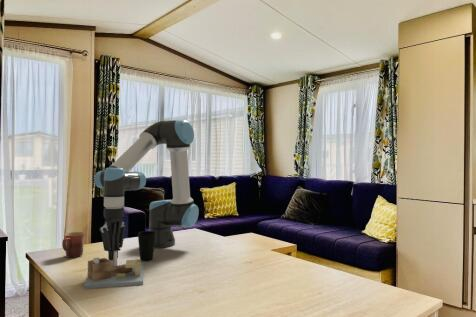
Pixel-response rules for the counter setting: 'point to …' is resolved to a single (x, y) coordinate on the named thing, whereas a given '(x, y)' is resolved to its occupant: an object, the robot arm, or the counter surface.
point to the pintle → (96, 260)
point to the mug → (73, 244)
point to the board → (117, 280)
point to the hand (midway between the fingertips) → (113, 267)
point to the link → (104, 269)
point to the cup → (146, 245)
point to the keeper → (132, 264)
